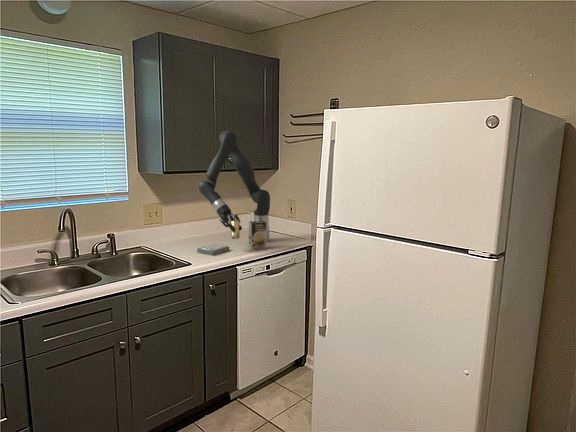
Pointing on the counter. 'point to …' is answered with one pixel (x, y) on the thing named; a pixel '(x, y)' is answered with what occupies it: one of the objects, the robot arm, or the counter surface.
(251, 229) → the coffee box
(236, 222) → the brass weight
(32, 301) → the counter surface
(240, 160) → the robot arm
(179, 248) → the counter surface
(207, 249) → the kitchen scale
